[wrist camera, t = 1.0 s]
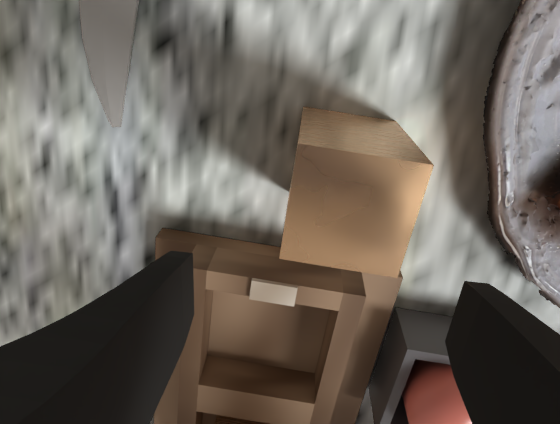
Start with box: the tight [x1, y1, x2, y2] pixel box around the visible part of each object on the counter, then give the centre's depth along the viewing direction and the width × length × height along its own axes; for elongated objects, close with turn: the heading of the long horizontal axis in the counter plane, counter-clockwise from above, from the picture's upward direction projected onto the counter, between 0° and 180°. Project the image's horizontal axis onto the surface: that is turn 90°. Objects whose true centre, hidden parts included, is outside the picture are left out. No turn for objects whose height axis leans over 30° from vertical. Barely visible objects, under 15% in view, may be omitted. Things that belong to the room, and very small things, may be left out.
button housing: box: [369, 308, 453, 424], centre depth 21 cm, size 6×6×3 cm
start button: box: [402, 359, 472, 424], centre depth 20 cm, size 4×4×3 cm
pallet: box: [154, 228, 403, 424], centre depth 22 cm, size 12×16×3 cm
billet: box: [279, 106, 434, 278], centre depth 15 cm, size 4×4×6 cm
